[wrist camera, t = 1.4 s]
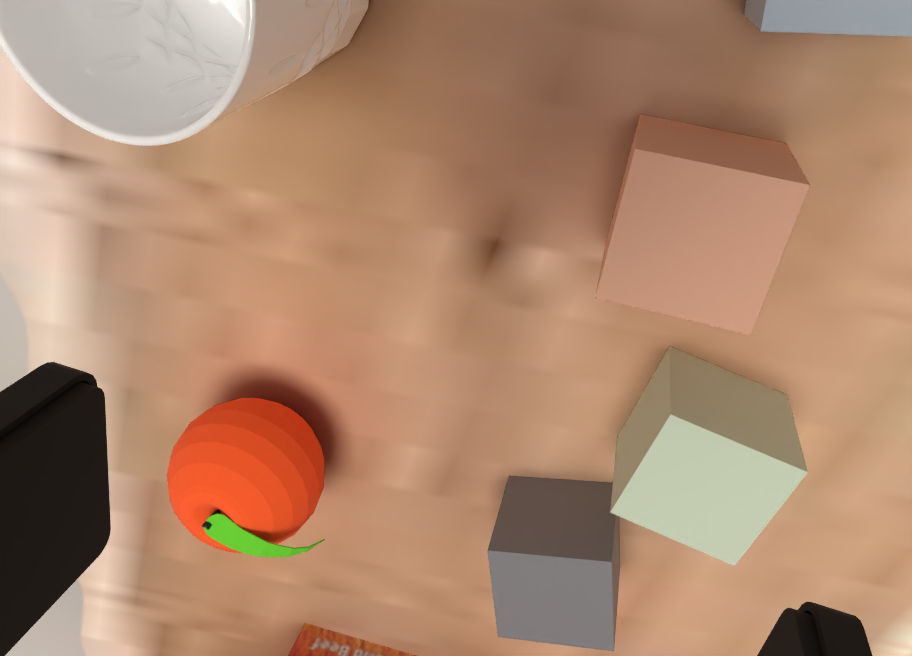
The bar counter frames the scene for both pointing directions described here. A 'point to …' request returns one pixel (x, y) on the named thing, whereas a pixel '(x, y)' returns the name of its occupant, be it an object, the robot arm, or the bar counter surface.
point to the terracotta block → (700, 223)
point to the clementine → (247, 477)
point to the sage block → (706, 457)
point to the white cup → (167, 57)
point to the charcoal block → (556, 562)
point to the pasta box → (336, 645)
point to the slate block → (832, 16)
